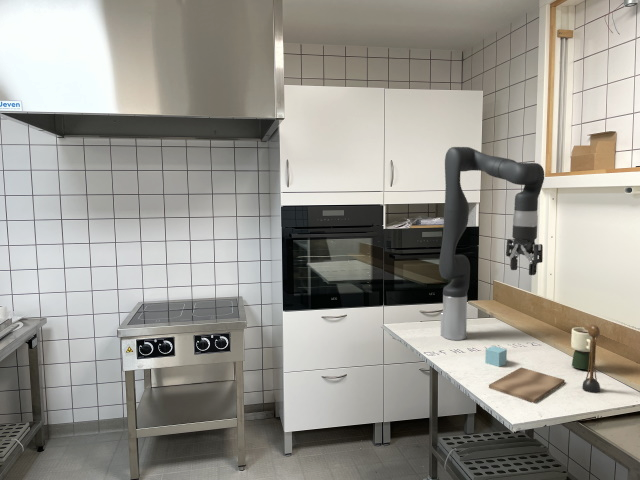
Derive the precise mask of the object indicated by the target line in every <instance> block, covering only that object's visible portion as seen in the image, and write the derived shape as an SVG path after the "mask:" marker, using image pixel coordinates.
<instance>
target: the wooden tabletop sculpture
mask: <svg viewBox="0 0 640 480" xmlns="http://www.w3.org/2000/svg"><path fill="white" fill-rule="evenodd" d="M584 328H585V330H587V331H588V334H589V335H590V336H591V337H592V340H590V359H589V368H588V369H587V374H586V377H585V379H584V380H583V382H582V386H581V387H582V388H581V389H582V390H583V391H585V392H587V393H592V394H593V393H594V394H598V393H600V392H601V385H600V382H599V381H598V378H597V371H596V370H597V369H596V352H597V349H596V348H597V340H595V338H596V339H597V338H598V337H599V336H600V335H601V330H600V328H599V326H597V325H596V324H594V323H593V324H589V326H587V325H586V326H584ZM591 347H592V350H591ZM590 362H591V369H590ZM589 369H590V370H589Z"/></svg>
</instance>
